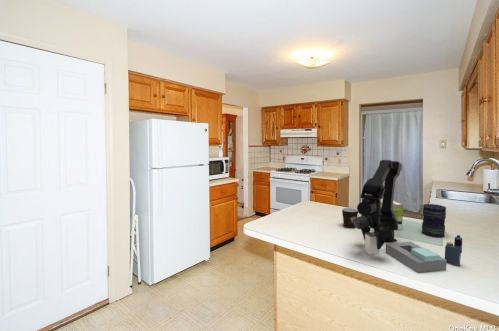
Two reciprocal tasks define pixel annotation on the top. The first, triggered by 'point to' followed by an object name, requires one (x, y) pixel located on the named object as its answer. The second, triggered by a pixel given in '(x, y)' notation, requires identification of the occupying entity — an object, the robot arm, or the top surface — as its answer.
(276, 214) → the top surface
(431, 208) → the storage jar
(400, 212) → the tea box
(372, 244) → the grey tall block
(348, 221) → the coffee mug
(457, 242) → the vaping device
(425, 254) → the teal rectangular block
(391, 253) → the socket
